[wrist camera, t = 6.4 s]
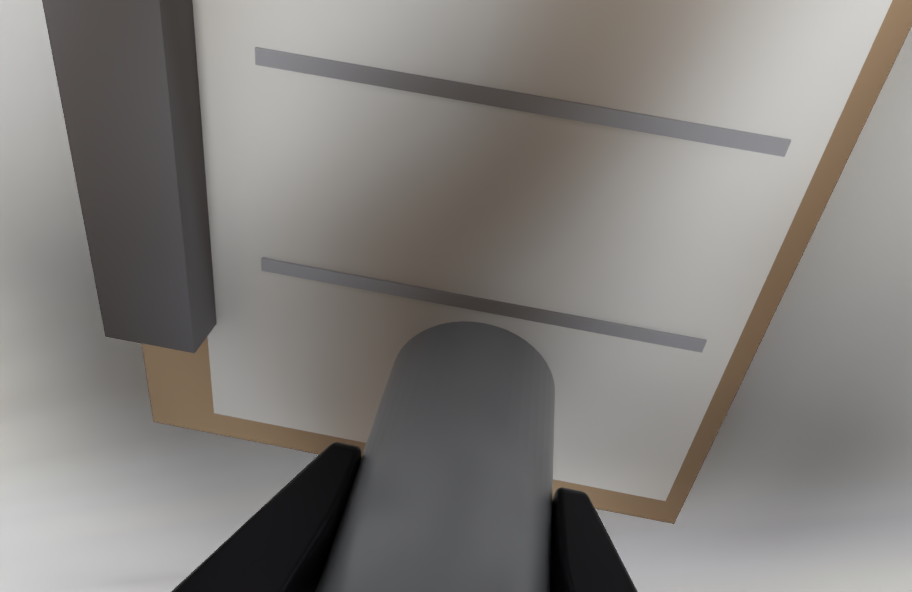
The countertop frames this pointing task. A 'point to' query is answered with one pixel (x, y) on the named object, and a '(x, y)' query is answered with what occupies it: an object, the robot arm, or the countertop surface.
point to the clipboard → (461, 201)
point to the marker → (453, 471)
